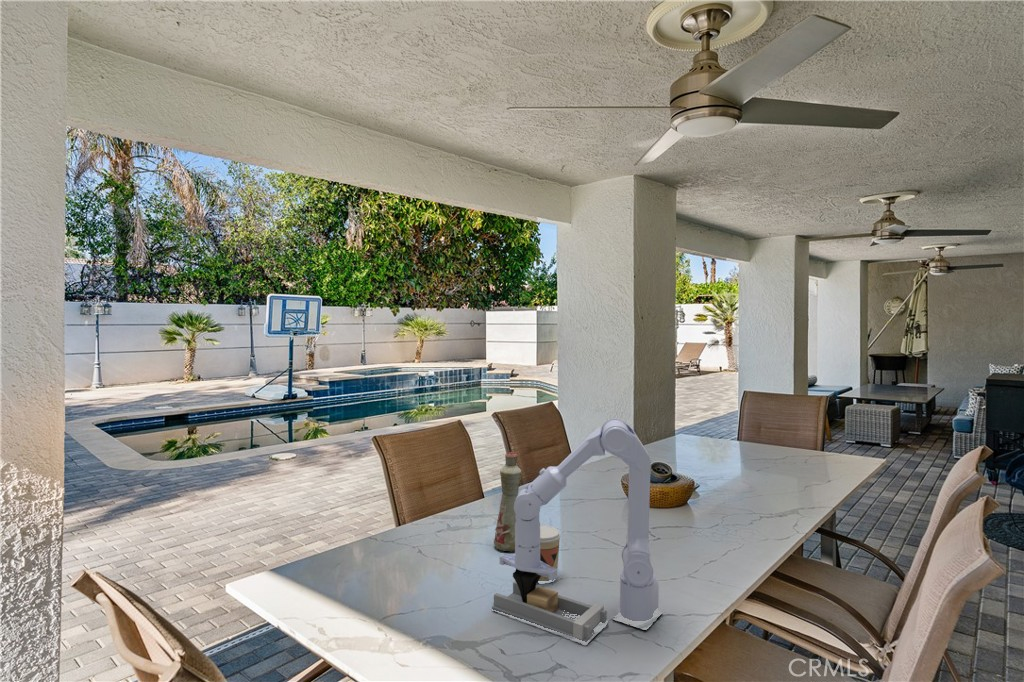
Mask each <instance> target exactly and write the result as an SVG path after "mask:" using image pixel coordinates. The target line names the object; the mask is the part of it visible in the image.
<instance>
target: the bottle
mask: <svg viewBox="0 0 1024 682" xmlns="http://www.w3.org/2000/svg"><path fill="white" fill-rule="evenodd" d="M504 456H505V464H504V465H503V466H502V467H501V469H500V471H499V474H500V475H499V476H500V483H501V484H500V485H501V492H502V493H501V500H500V503H499V504H500V505H499V512H498V517H497V519H496V520H497V521H496V526H495V529H494V531H495V532H494V533H495V534H494V540H493V544H494V545H493V546H494V547H495V548H496V549H497V550H498V549H499V550H498V551H501V550H503V551H502V552H504V551H514V552H515V523H516V514H515V511H514V502H515V500H516V498H517V496H518V494H519V488H520V482H521V476H522V470H521V468H520V467H519V466H518V464H517V461H518V455H517V453H516V452H512V451H510V452H506V453H505V455H504Z"/></svg>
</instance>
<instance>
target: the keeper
mask: <svg viewBox="0 0 1024 682" xmlns="http://www.w3.org/2000/svg"><path fill="white" fill-rule="evenodd" d="M558 595H559V592H558V591H556V590H552V589H549V588H547V587H543V586H541V585H539V586H536V589H534V590H533V591H531V592H530V593H529V594H527V604H530V605H532V606H535V607H538V608H541V609H544V610H547V611H550V612H553V613H554V612H556V611H557V610H558Z"/></svg>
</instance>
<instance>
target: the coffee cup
mask: <svg viewBox="0 0 1024 682" xmlns="http://www.w3.org/2000/svg"><path fill="white" fill-rule="evenodd" d="M560 538H561V532H560V531H559V529H557V528H555V527H553V526H550V525H540V561H542V562H544V563H545V564H547V565H549V566H551V567H553V568H555V569H557V570H558V569H559V568H558V566H559V565H558V564H559V553H560ZM539 581H549V578H547V577H544V576H541V577H540V579H539Z"/></svg>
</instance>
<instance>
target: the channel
mask: <svg viewBox="0 0 1024 682" xmlns="http://www.w3.org/2000/svg"><path fill="white" fill-rule="evenodd" d="M536 588H537V587H536ZM536 588H535V589H536ZM492 609H493V610H496V611H499V612H503V613H505V614H508V615H512V616H514V617H517V618H520V619H524V620H526V621H529V622H531V623H535V624H537V625H540V626H543V627H544V628H548V629H551V630H554V631H557V632H560V633H563V634H566V635H569V636H572V637H575V638H577V639H579V640H582V641H585V642H587V641H588V640H589V639H590V638H591V637H592V636H593V634H595V633H594V630H593V629H594V628H595V627H596V626H597V625H598V624H599V623H600V622H602V623H605V622H606V620H608V619H607V615H608V614H607V610H605V605H603V604H601V603H596V602H595V603H594V604H593V605H590V604H588V603H584V602H581V601H578V600H575V599H572V598H568V597H566V596H563V595H559V594H558V610H557V611H556V612H554V613H553V612H550V611H547V610H544V609H541V608H538V607H535V606H532V605H530V604H527V603H524V602H523V601H522V597H521V593H520V590H519V587H518V585H517V583H516V581H515V580H514V581H513V582H512V593H510V594H509V595H507V596H506V595H503V594H501V593H498V592H496V593H494V594H493V605H492V606H491V610H492ZM564 610H565V611H564ZM563 612H564V613H563ZM567 612H569V613H567ZM562 614H563V615H562ZM565 614H569V615H570V614H577V615H575V616H578V615H580V617H579V618H577V620H573V619H575V618H576V617H575V618H572V617H570V618H567V617H564V616H565ZM569 615H566V616H568V617H569ZM571 616H574V615H571ZM571 618H572V619H571ZM592 633H593V634H592Z"/></svg>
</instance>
